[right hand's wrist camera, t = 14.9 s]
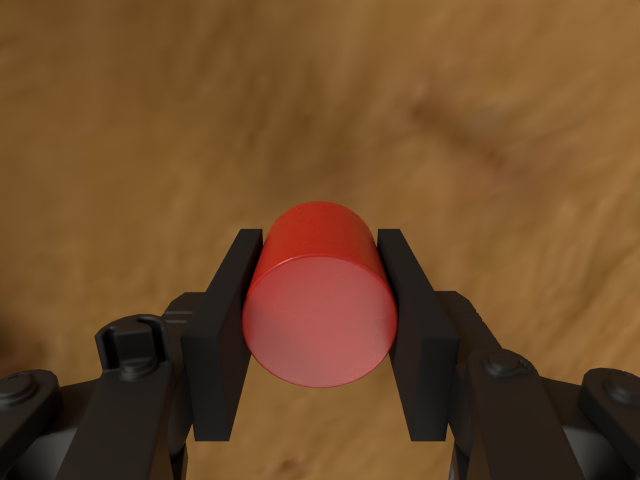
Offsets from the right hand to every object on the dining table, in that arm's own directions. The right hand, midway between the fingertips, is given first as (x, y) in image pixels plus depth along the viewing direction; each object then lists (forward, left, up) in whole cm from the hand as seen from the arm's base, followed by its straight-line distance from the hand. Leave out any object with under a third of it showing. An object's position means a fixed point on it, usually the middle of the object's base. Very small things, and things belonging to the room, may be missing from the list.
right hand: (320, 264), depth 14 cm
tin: (0, 0, 0) cm, 0 cm away
